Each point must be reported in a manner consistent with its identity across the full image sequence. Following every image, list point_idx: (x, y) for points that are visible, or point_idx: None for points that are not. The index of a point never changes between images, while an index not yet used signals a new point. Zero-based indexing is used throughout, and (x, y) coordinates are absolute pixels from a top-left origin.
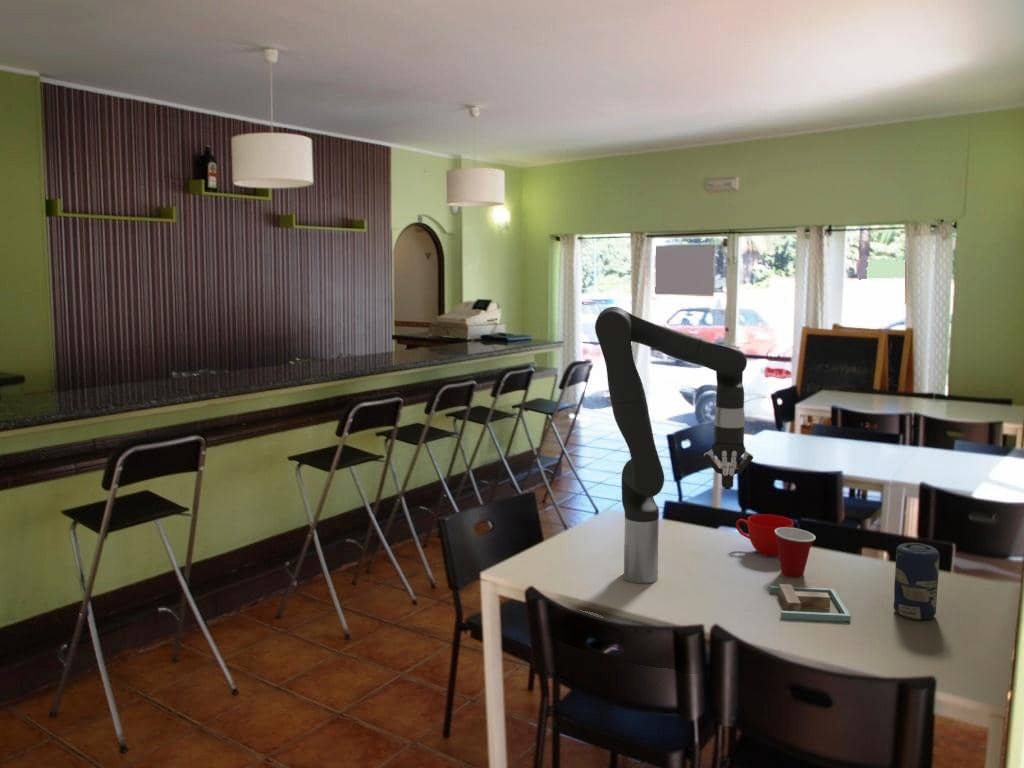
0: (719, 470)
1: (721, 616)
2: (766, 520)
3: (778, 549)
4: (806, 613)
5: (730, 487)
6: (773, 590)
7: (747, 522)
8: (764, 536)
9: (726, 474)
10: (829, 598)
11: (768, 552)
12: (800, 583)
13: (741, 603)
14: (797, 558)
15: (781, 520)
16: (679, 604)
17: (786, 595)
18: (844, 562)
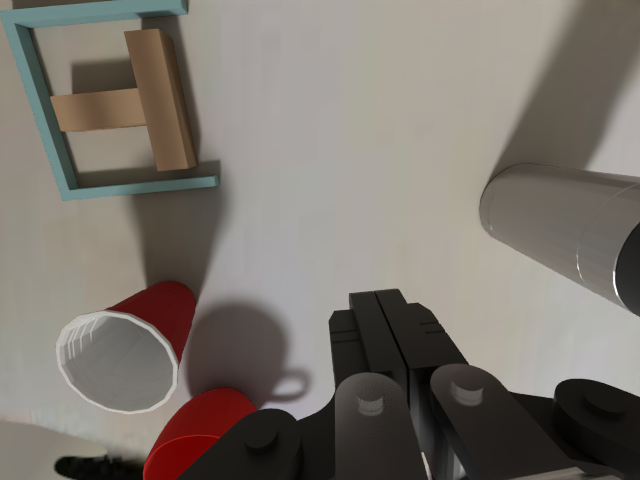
0: (587, 415)
1: None
2: None
3: (184, 331)
4: (114, 1)
5: (352, 297)
6: (209, 176)
7: None
8: (224, 413)
9: (440, 378)
10: (54, 96)
11: (224, 389)
12: (151, 249)
13: (286, 87)
14: (136, 296)
15: None
16: (440, 44)
17: (165, 85)
18: (66, 389)
